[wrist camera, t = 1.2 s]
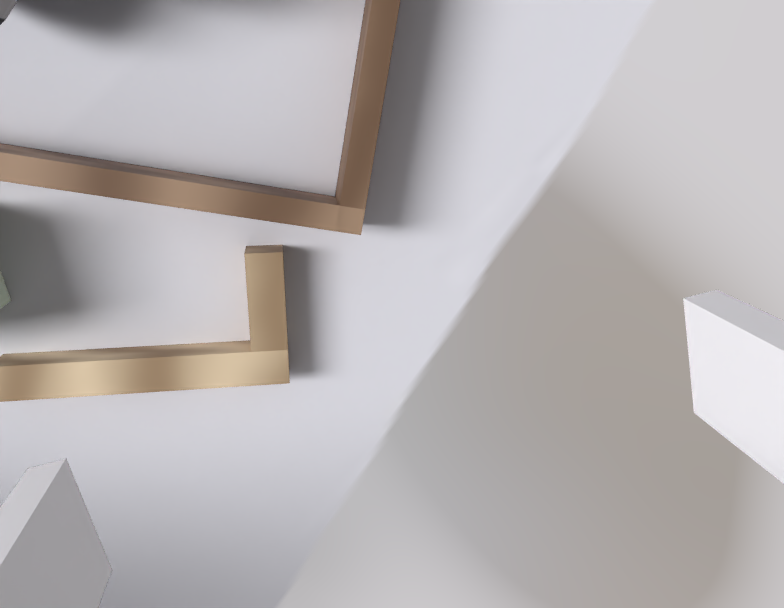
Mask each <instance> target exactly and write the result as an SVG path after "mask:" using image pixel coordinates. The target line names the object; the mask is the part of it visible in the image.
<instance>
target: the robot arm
mask: <svg viewBox="0 0 784 608" xmlns="http://www.w3.org/2000/svg"><path fill="white" fill-rule="evenodd" d="M683 300H684V310H685V320H686V332H687V343H688V353H689V364H690V375H691V386H692V396H693V407H694V413H695V414H696V415H698V416H699V417H700V418H701V419H703V420H704V421H705V422H706V423H708V424H709V425H710V426H712V427H713V428H714V429H715V430H716V431H718V432H719V433H720V434H722V435H723V436H724V437H725V438H727V439H728V440H729V441H730V442H732V443H733V444H734V445H736V446H737V447H738V448H739V449H740V450H742V451H743V452H744V453H746V454H747V455H748V456H749V457H751V458H752V459H753V460H754V461H755V462H757V463H758V464H759V465H761V466H762V467H763V468H764V469H766V470H767V471H768V472H769V473H771V474H772V475H773V476H775V477H776V478H777V479H778V480H779V481H781V482H782V483H783V484H784V320H782V319H780V318H777V317H775V316H773V315H771V314H769V313H767V312H765V311H763V310H760V309H758V308H756V307H754V306H752V305H750V304H747V303H745V302H743V301H741V300H739V299H737V298H734V297H732V296H730V295H728V294H725V293H723V292H721V291H719V290H714V291H710V292H706V293H702V294H698V295H694V296H690V297H687V298H683ZM111 572H112V568H111V566H110V563H109V561H108V559H107V556H106V554H105V551H104V549H103V546H102V544H101V542H100V539H99V537H98V534H97V532H96V530H95V527H94V525H93V522H92V520H91V517H90V515H89V513H88V510H87V508H86V505H85V503H84V500H83V498H82V496H81V493H80V491H79V488H78V486H77V483H76V481H75V479H74V476H73V474H72V471H71V469H70V467H69V464H68V462H67V459H62V460H58V461H54V462H50V463H46V464H42V465H39V466H35V467H31V468H28V469H27V470H26V472H25V473H24V474H23V476H22V477H21V479H20V480H19V482H18V483H17V484H16V486H15V487H14V489H13V490H12V492H11V493H10V494H9V496H8V497H7V499H6V500H5V502H4V503H3V504H2V506H1V507H0V608H98V607H99V605H100V602H101V599H102V596H103V594H104V591H105V588H106V586H107V583H108V580H109V578H110V575H111Z"/></svg>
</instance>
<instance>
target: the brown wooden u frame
mask: <svg viewBox="0 0 784 608" xmlns="http://www.w3.org/2000/svg"><path fill="white" fill-rule="evenodd" d="M399 6H400V0H366V2H365V8H364V14H363V21H362V27H361V34H360V40H359V46H358V53H357V59H356V65H355V72H354V78H353V85H352V91H351V97H350V104H349V110H348V117H347V123H346V129H345V136H344V142H343V149H342V155H341V161H340V168H339V174H338V180H337V187H336V193H335V197H334V196H327V195H321V194H315V193H308V192H302V191H296V190H290V189H283V188H277V187H271V186H265V185H258V184H252V183H246V182H239V181H233V180H227V179H221V178H214V177H208V176H202V175H196V174H189V173H183V172H177V171H170V170H164V169H158V168H152V167H145V166H139V165H133V164H127V163H120V162H114V161H108V160H101V159H95V158H89V157H83V156H76V155H70V154H64V153H58V152H51V151H45V150H39V149H32V148H26V147H20V146H14V145H7V144H1V143H0V181H5V182H11V183H18V184H25V185H31V186H38V187H45V188H51V189H58V190H65V191H71V192H78V193H85V194H91V195H98V196H105V197H111V198H118V199H125V200H131V201H138V202H145V203H151V204H158V205H165V206H171V207H178V208H184V209H191V210H198V211H204V212H211V213H218V214H224V215H231V216H238V217H244V218H251V219H258V220H264V221H271V222H278V223H284V224H291V225H298V226H304V227H311V228H318V229H324V230H331V231H338V232H344V233H351V234H358V235H361V231H362V226H363V220H364V214H365V208H366V202H367V196H368V190H369V184H370V178H371V172H372V166H373V160H374V154H375V148H376V142H377V136H378V130H379V124H380V119H381V113H382V107H383V101H384V95H385V89H386V83H387V77H388V71H389V65H390V59H391V53H392V47H393V41H394V35H395V29H396V23H397V17H398V12H399Z"/></svg>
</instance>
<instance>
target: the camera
mask: <svg viewBox="0 0 784 608" xmlns="http://www.w3.org/2000/svg"><path fill="white" fill-rule="evenodd" d="M17 1H18V0H0V25H1V24H2V23H3V22H4V21H5V19H6V18H7V17H8V15H9V13H10V12H11V10H12V9H13V7H14V6H15V4H16V2H17Z"/></svg>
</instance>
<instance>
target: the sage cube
mask: <svg viewBox="0 0 784 608" xmlns="http://www.w3.org/2000/svg"><path fill="white" fill-rule="evenodd" d="M10 301H11V299H10V296H9V293H8V290H7V287H6V285H5V282H4V279H3V276H2V273H1V270H0V309H1V308H2V307H4V306H5V305H6V304H8V303H9V302H10Z"/></svg>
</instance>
